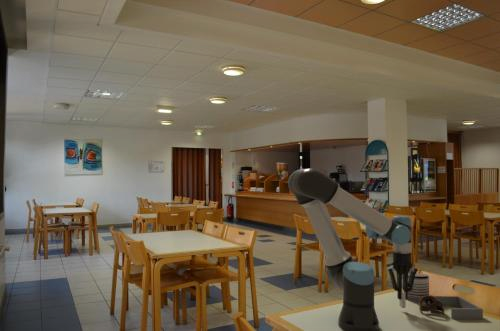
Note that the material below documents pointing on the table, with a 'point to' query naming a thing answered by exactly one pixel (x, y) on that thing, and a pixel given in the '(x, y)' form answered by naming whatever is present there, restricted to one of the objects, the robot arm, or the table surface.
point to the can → (418, 287)
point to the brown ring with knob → (430, 304)
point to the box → (461, 313)
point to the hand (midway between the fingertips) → (402, 306)
